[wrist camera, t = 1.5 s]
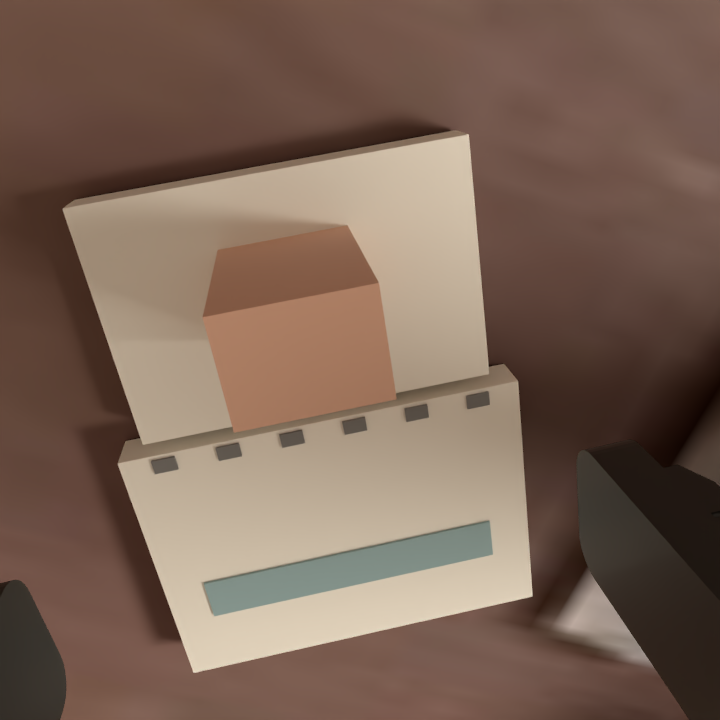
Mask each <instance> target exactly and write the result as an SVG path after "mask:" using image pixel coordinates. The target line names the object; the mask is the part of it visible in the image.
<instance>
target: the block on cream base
mask: <svg viewBox="0 0 720 720" xmlns="http://www.w3.org/2000/svg"><path fill="white" fill-rule="evenodd" d="M62 210H63V213H64V216H65V219H66V221H67V224H68V227H69V230H70V233H71V236H72V239H73V242H74V245H75V248H76V251H77V254H78V257H79V260H80V262H81V265H82V268H83V271H84V274H85V277H86V280H87V283H88V286H89V289H90V292H91V295H92V298H93V301H94V304H95V306H96V309H97V312H98V315H99V318H100V321H101V324H102V327H103V330H104V333H105V336H106V339H107V342H108V345H109V347H110V350H111V353H112V356H113V359H114V362H115V365H116V368H117V371H118V374H119V377H120V380H121V383H122V386H123V388H124V391H125V394H126V397H127V400H128V403H129V406H130V409H131V412H132V415H133V418H134V421H135V424H136V427H137V430H138V432H139V435H140V438H141V441H142V444H143V445H145V444H150V443H155V442H160V441H165V440H170V439H175V438H179V437H184V436H189V435H194V434H199V433H204V432H209V431H214V430H218V429H223V428H228V427H233V431H234V433H236V432H240V431H245V430H250V429H255V428H260V427H265V426H270V425H275V424H279V423H284V422H289V421H294V420H299V419H304V418H309V417H313V416H318V415H323V414H328V413H333V412H338V411H343V410H347V409H352V408H357V407H362V406H367V405H372V404H377V403H382V402H386V401H391V400H396V399H397V398H396V393H399V392H404V391H409V390H414V389H419V388H423V387H428V386H433V385H438V384H443V383H448V382H453V381H458V380H462V379H467V378H472V377H477V376H482V375H487V374H489V364H488V352H487V341H486V329H485V318H484V306H483V294H482V283H481V271H480V260H479V248H478V236H477V225H476V213H475V202H474V190H473V178H472V167H471V155H470V144H469V134H466V133H463V132H460V131H457V130H454V131H449V132H443V133H438V134H433V135H427V136H422V137H416V138H411V139H405V140H400V141H394V142H389V143H383V144H378V145H372V146H367V147H361V148H356V149H350V150H345V151H339V152H334V153H328V154H323V155H317V156H312V157H306V158H301V159H295V160H290V161H285V162H279V163H274V164H268V165H263V166H257V167H252V168H246V169H241V170H235V171H230V172H224V173H219V174H213V175H208V176H202V177H197V178H191V179H186V180H180V181H175V182H169V183H164V184H158V185H153V186H147V187H142V188H137V189H131V190H126V191H120V192H115V193H109V194H104V195H98V196H93V197H87V198H82V199H76V200H73V201H72V202H71V203H69V204H68V205H67V206H65V207H64V208H62Z"/></svg>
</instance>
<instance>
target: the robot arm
mask: <svg viewBox="0 0 720 720" xmlns="http://www.w3.org/2000/svg"><path fill="white" fill-rule="evenodd" d="M577 489H578V515H579V536H580V543H581V547H582V551H583V554H584V557H585V560H586V563H587V565H588V567H589V570H590V572H591V574H592V575H593V577H594V579H595V580H596V582H597V583H598V585H599V586H600V588H601V589H602V591H603V592H604V594H605V595H606V597H607V598H608V600H609V601H610V603H611V604H612V606H613V607H614V608H615V610H616V611H617V613H618V614H619V616H620V617H621V619H622V620H623V622H624V623H625V625H626V626H627V628H628V629H629V631H630V632H631V634H632V635H633V637H634V638H635V640H636V641H637V643H638V644H639V646H640V647H641V649H642V650H643V652H644V653H645V654H646V656H647V657H648V659H649V660H650V662H651V663H652V665H653V666H654V668H655V669H656V671H657V672H658V674H659V675H660V677H661V678H662V680H663V681H664V683H665V684H666V686H667V687H668V689H669V690H670V692H671V693H672V695H673V696H674V697H675V699H676V700H677V702H678V703H679V705H680V706H681V708H682V709H683V711H684V712H685V714H686V715H687V717H688V718H689V720H720V487H719V486H718V485H717V484H716V483H715V482H714V481H711V480H709V479H707V478H705V477H703V476H701V475H699V474H696V473H694V472H692V471H690V470H688V469H686V468H684V467H681V466H679V465H674V466H670V467H666V468H663V467H662V466H661V465H660V464H659V463H658V462H657V461H656V460H655V459H654V458H653V457H652V456H651V455H650V454H649V453H648V452H647V451H646V450H645V449H644V448H643V447H642V446H641V445H640V444H638V443H637V442H636V441H634V440H631V439H629V440H625V441H620V442H616V443H612V444H607V445H603V446H599V447H594V448H590V449H586V450H581V451H580V452H579V454H578V456H577ZM65 698H66V675H65V669H64V664H63V661H62V658H61V656H60V653H59V651H58V649H57V647H56V645H55V643H54V641H53V639H52V637H51V635H50V633H49V631H48V629H47V627H46V625H45V623H44V621H43V619H42V617H41V615H40V612H39V610H38V608H37V606H36V604H35V602H34V600H33V598H32V596H31V594H30V592H29V590H28V588H27V587H26V586H25V584H23V583H22V582H21V581H19V580H12V581H8V582H3V583H0V720H60V718H61V715H62V711H63V708H64V704H65Z"/></svg>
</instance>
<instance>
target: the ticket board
mask: <svg viewBox="0 0 720 720" xmlns="http://www.w3.org/2000/svg"><path fill="white" fill-rule="evenodd" d="M396 398H397V399H396V400H391V401H386V402H382V403H377V404H372V405H367V406H362V407H357V408H352V409H347V410H343V411H338V412H333V413H328V414H323V415H318V416H313V417H309V418H304V419H299V420H294V421H289V422H284V423H279V424H275V425H270V426H265V427H260V428H255V429H250V430H245V431H240V432H236V433H234V431H233V427H228V428H223V429H218V430H214V431H209V432H204V433H199V434H194V435H189V436H184V437H179V438H175V439H170V440H165V441H160V442H155V443H150V444H145V445H143V444H142V441H141V438H138V439H133V440H129V441H125V444H124V447H123V449H122V452H121V455H120V458H119V461H118V466H119V469H120V472H121V475H122V477H123V480H124V483H125V486H126V488H127V491H128V494H129V497H130V499H131V502H132V505H133V508H134V510H135V513H136V516H137V519H138V521H139V524H140V527H141V530H142V532H143V535H144V538H145V541H146V543H147V546H148V549H149V551H150V554H151V557H152V560H153V562H154V565H155V568H156V571H157V573H158V576H159V579H160V582H161V584H162V587H163V590H164V593H165V595H166V598H167V601H168V604H169V606H170V609H171V612H172V615H173V617H174V620H175V623H176V626H177V628H178V631H179V634H180V637H181V639H182V642H183V645H184V648H185V650H186V653H187V656H188V658H189V661H190V664H191V667H192V669H193V672H194V673H195V672H200V671H204V670H209V669H213V668H218V667H222V666H226V665H231V664H235V663H240V662H244V661H249V660H253V659H257V658H262V657H266V656H271V655H275V654H280V653H284V652H288V651H293V650H297V649H302V648H306V647H311V646H315V645H319V644H324V643H328V642H333V641H337V640H342V639H346V638H350V637H355V636H359V635H364V634H368V633H373V632H377V631H381V630H386V629H390V628H395V627H399V626H404V625H408V624H412V623H417V622H421V621H426V620H430V619H435V618H439V617H443V616H448V615H452V614H457V613H461V612H466V611H470V610H474V609H479V608H483V607H488V606H492V605H497V604H501V603H505V602H510V601H514V600H519V599H523V598H528V597H532V581H531V566H530V551H529V536H528V521H527V506H526V491H525V476H524V461H523V446H522V431H521V416H520V401H519V386H518V380H517V379H516V378H515V377H514V375H513V374H512V373H511V372H510V370H509V369H508V368H507V367H506V366H505V364H501V365H496V366H491V367H489V374H487V375H482V376H477V377H472V378H467V379H462V380H458V381H453V382H448V383H443V384H438V385H433V386H428V387H423V388H419V389H414V390H409V391H404V392H399V393H396Z"/></svg>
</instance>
